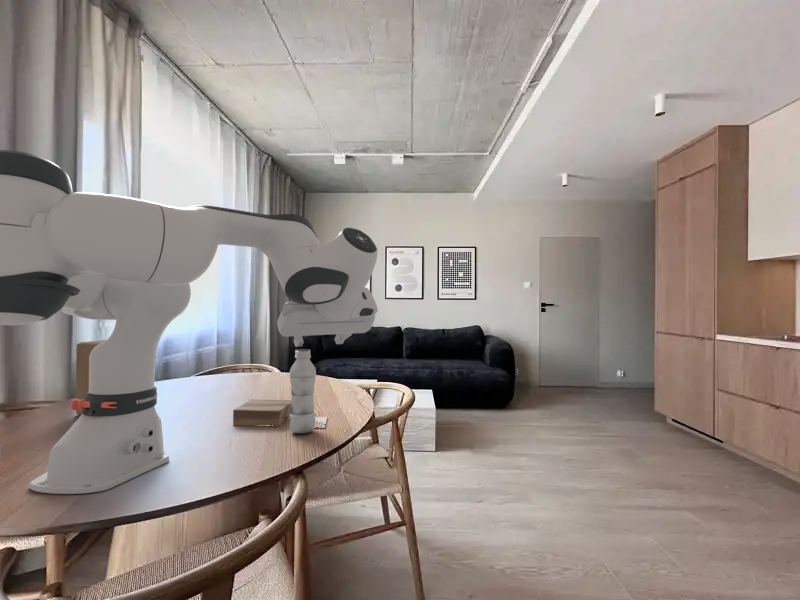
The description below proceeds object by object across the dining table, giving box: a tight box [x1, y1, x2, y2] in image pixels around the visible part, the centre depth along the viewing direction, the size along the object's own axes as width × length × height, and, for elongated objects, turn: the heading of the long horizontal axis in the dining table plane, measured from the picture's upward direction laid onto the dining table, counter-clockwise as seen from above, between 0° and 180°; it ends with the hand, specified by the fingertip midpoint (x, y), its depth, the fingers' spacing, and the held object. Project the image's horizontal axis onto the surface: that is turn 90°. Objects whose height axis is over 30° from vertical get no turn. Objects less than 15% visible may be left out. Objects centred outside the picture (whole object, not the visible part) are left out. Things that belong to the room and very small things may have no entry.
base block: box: [232, 399, 291, 427], centre depth 119 cm, size 12×12×4 cm
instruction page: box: [315, 416, 328, 428], centre depth 116 cm, size 10×8×1 cm
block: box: [75, 339, 106, 416], centre depth 125 cm, size 10×10×20 cm
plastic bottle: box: [288, 348, 317, 434], centre depth 109 cm, size 6×7×20 cm
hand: (318, 342), depth 99 cm, fingers open, 8 cm apart
